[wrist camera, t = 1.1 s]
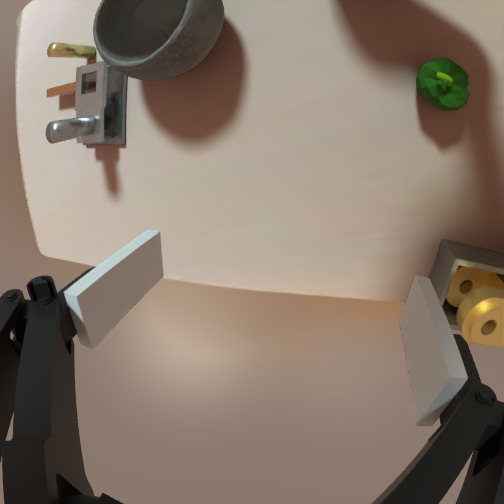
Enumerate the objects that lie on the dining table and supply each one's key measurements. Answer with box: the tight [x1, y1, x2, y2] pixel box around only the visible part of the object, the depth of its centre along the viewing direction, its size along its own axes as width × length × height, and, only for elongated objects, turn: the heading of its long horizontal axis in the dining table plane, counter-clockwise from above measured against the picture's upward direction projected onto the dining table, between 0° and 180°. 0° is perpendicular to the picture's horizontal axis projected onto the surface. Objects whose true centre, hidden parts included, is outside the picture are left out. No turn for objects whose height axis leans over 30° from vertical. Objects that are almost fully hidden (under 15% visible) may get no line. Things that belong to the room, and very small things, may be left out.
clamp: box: [446, 265, 504, 347], centre depth 41 cm, size 20×9×16 cm, turn 85°
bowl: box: [93, 0, 224, 80], centre depth 37 cm, size 21×21×15 cm
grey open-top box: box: [429, 239, 504, 330], centre depth 45 cm, size 14×24×8 cm, turn 86°
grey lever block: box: [46, 61, 127, 145], centre depth 48 cm, size 18×22×15 cm
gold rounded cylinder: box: [47, 43, 96, 59], centre depth 43 cm, size 3×3×12 cm
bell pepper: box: [416, 58, 469, 111], centre depth 33 cm, size 8×8×10 cm
